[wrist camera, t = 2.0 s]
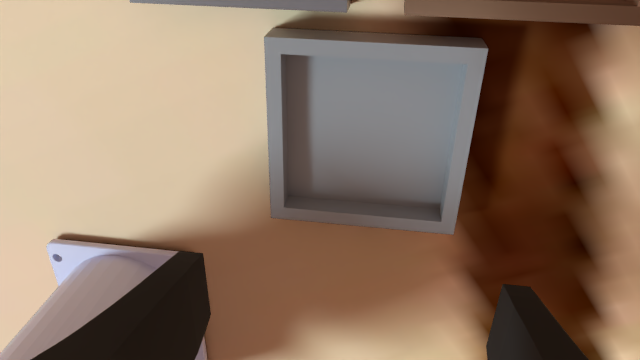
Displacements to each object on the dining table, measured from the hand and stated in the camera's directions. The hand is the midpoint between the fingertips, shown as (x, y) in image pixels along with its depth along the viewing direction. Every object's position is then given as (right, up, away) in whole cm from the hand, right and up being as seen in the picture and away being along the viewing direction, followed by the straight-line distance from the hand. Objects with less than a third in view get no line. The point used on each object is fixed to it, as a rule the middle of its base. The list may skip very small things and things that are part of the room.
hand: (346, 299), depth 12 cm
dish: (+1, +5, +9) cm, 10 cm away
